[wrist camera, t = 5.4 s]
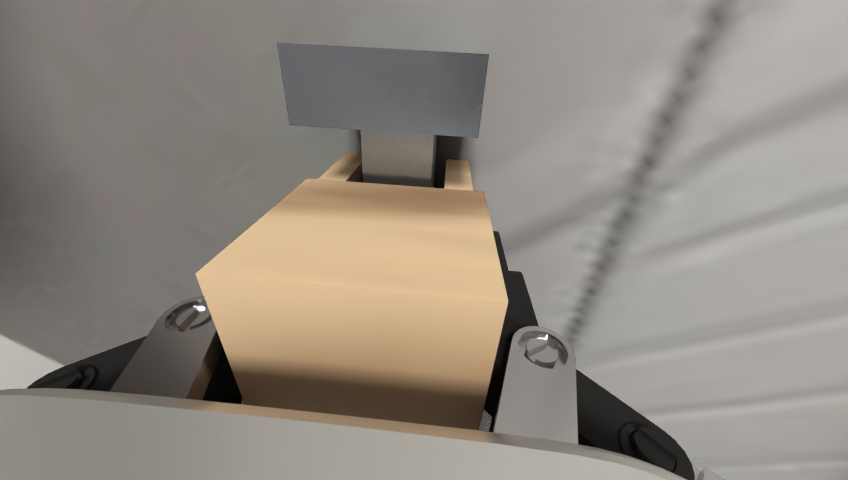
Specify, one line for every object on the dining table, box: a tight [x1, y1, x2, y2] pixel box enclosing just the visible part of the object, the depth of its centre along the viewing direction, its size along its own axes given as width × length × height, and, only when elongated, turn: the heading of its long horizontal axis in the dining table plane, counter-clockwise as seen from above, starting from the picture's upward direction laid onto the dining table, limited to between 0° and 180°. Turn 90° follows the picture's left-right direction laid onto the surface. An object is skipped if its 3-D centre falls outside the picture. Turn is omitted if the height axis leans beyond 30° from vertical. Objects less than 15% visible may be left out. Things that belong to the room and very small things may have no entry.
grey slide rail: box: [277, 43, 489, 188], centre depth 14 cm, size 23×4×5 cm, turn 177°
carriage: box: [196, 152, 508, 430], centre depth 10 cm, size 6×5×8 cm
